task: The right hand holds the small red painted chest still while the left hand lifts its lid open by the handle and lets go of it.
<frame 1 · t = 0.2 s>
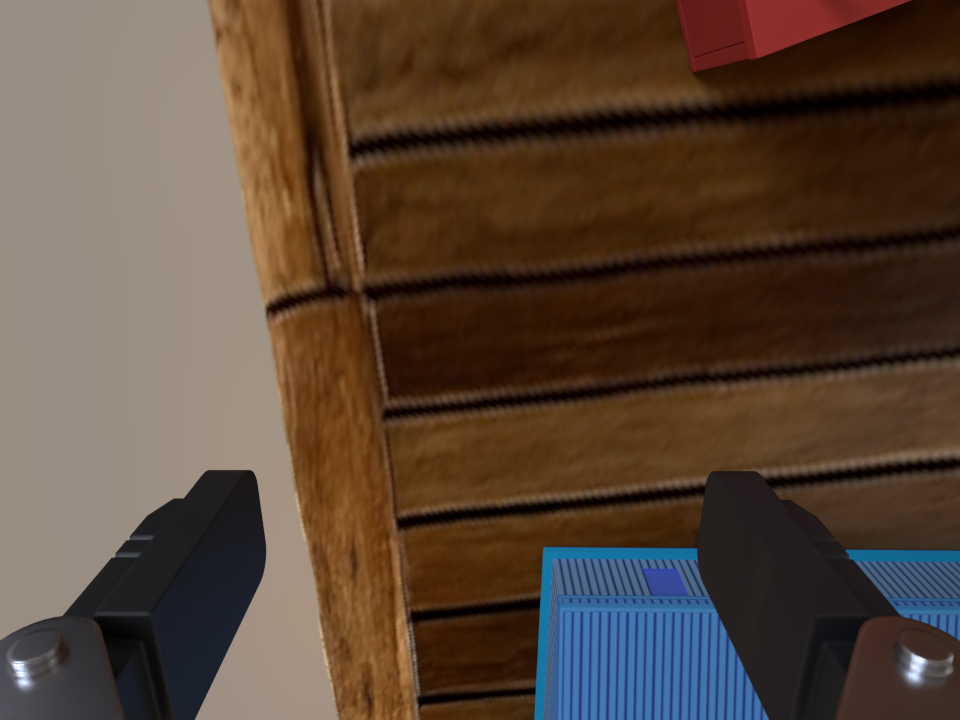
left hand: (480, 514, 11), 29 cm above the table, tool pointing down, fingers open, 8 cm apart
model building: (784, 672, 50), on the table
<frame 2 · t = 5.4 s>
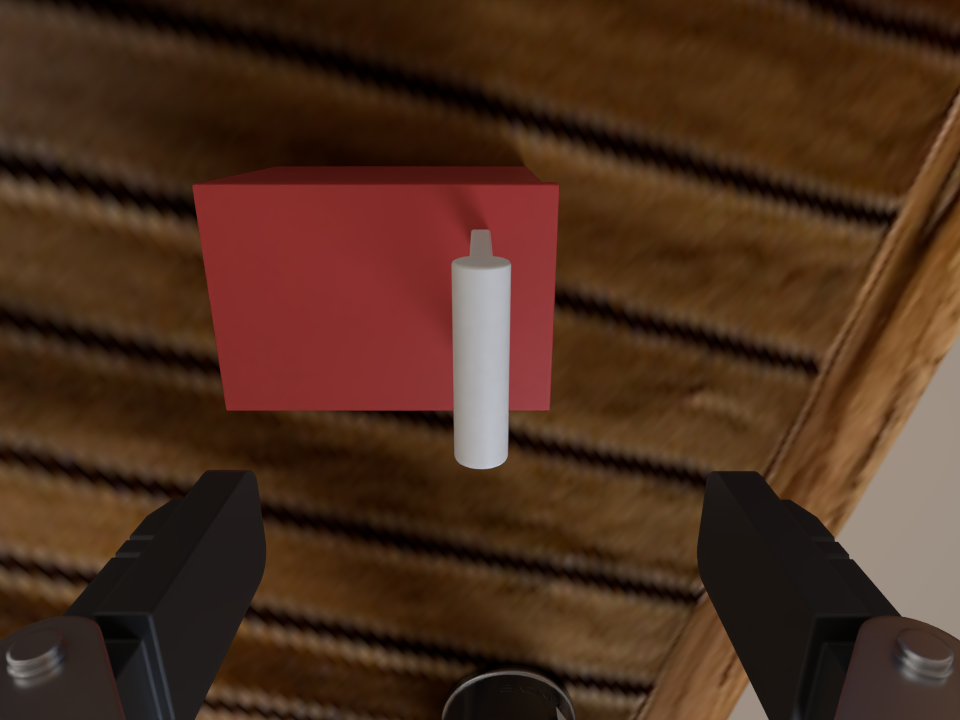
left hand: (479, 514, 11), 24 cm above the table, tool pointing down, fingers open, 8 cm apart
chest: (404, 253, 34), on the table
lid: (368, 330, 22), point 13 cm above the table, hinge at 0.0°
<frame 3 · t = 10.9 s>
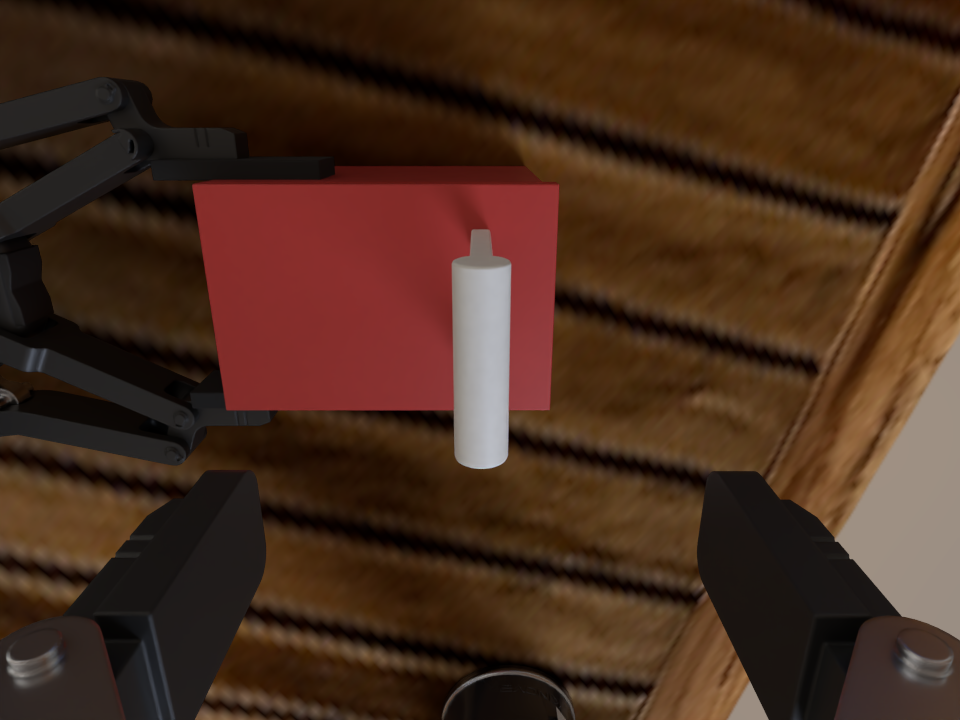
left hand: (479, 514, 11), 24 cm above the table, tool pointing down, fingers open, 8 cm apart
right hand: (336, 285, 28), fingers closed on chest, 9 cm apart
chest: (404, 253, 34), on the table, touching right hand
lid: (368, 329, 22), point 13 cm above the table, hinge at 0.0°
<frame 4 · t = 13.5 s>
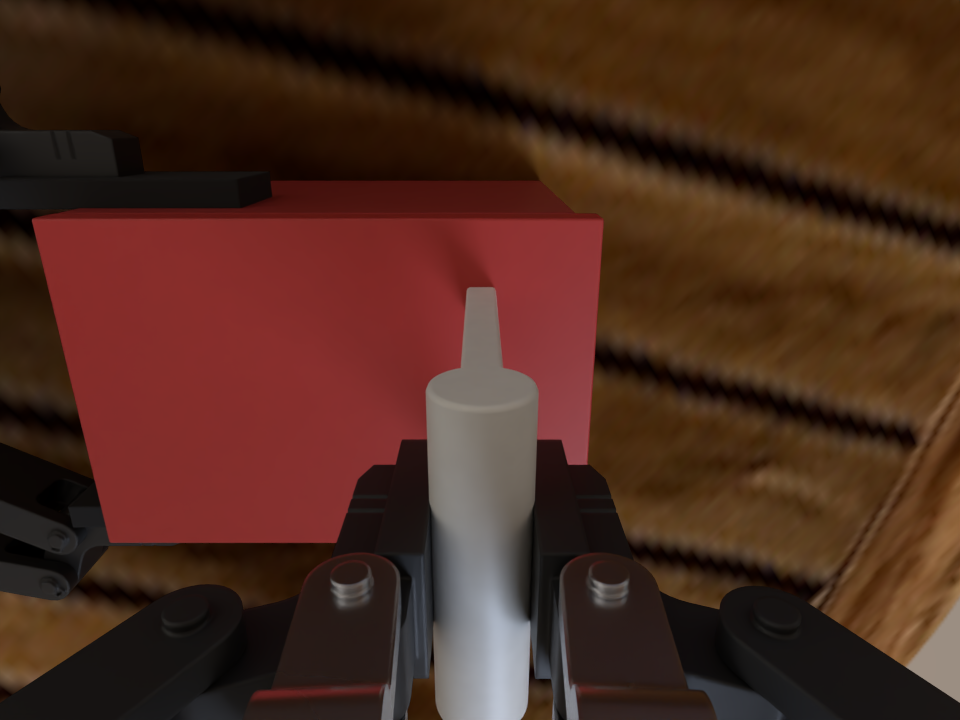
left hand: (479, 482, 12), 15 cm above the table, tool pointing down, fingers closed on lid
chest: (380, 295, 26), on the table, touching right hand
lid: (299, 458, 13), point 14 cm above the table, hinge at 0.2°, touching left hand
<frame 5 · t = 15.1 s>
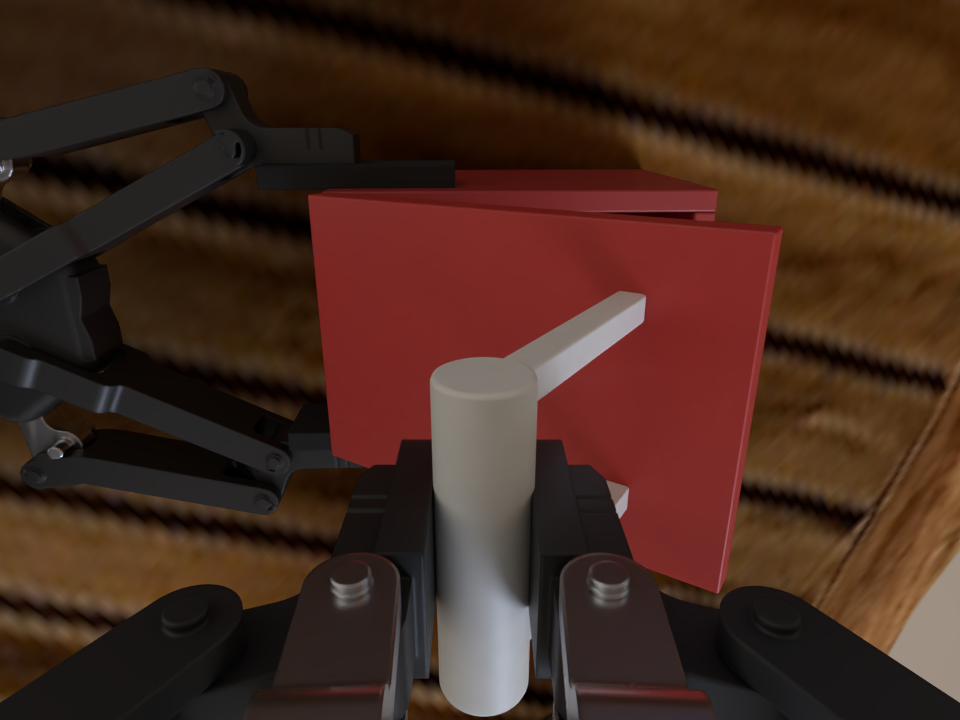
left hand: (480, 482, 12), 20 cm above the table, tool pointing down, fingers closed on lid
right hand: (456, 307, 24), fingers closed on chest, 9 cm apart
chest: (502, 267, 31), on the table, touching right hand
lid: (421, 417, 15), point 17 cm above the table, hinge at 34.2°, touching left hand
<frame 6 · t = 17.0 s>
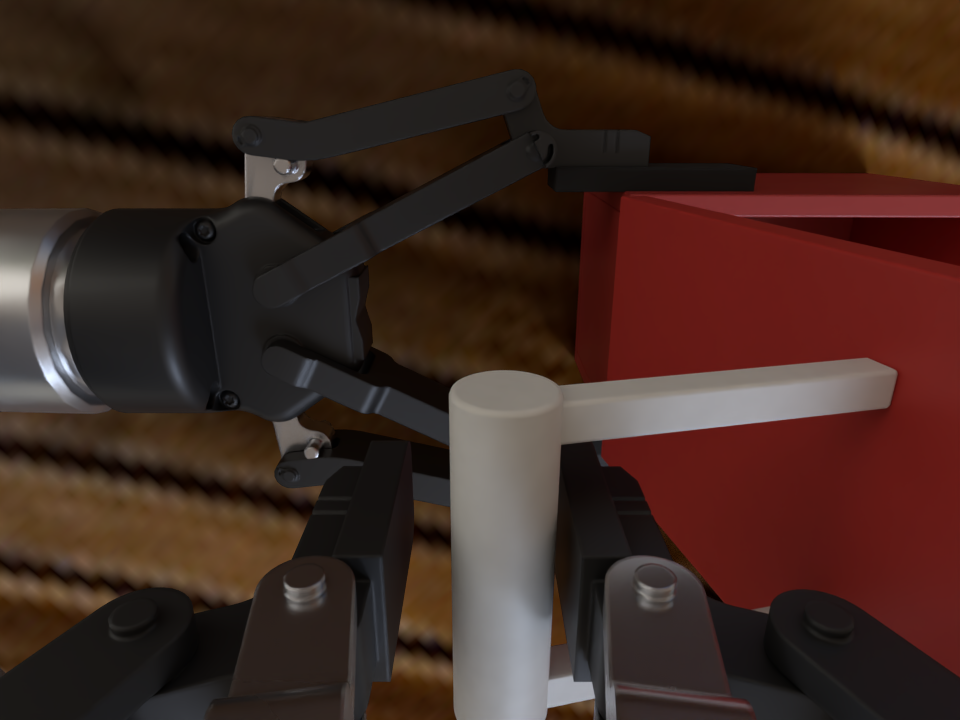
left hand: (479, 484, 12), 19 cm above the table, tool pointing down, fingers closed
right hand: (720, 312, 24), fingers closed on chest, 9 cm apart
chest: (713, 271, 30), on the table, touching right hand
lid: (599, 436, 14), point 17 cm above the table, hinge at 76.7°
when the right hand's fingers open (7 cm above the table, at t = 21.2 s): chest stays where it is, on the table.
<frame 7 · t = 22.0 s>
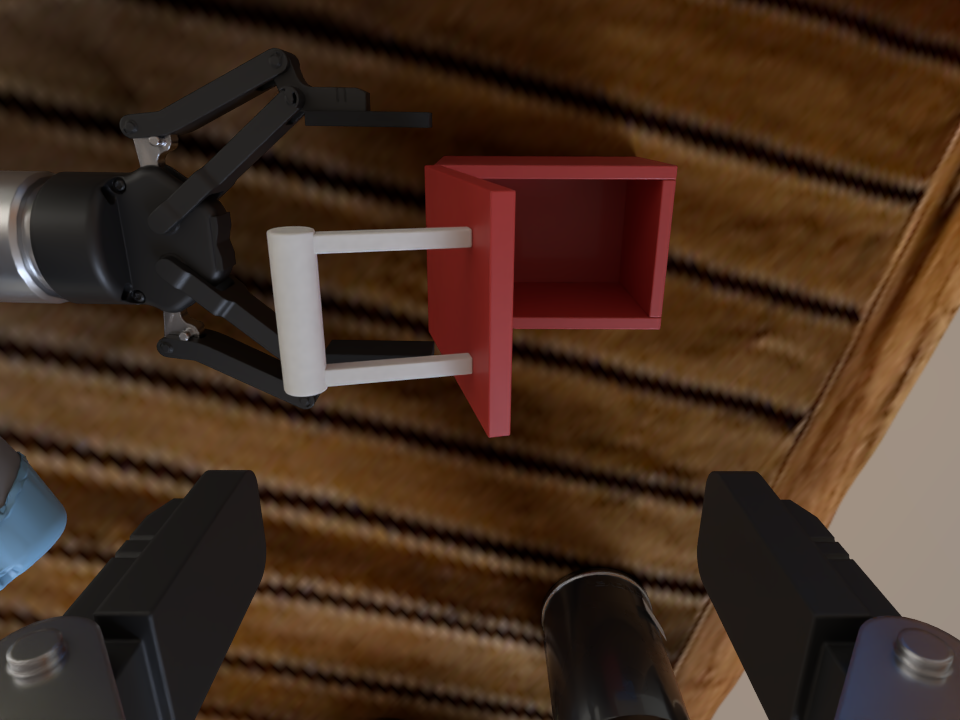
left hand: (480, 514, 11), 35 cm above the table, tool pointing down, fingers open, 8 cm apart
right hand: (432, 244, 37), fingers open, 13 cm apart
chest: (537, 225, 44), on the table
lid: (378, 284, 28), point 17 cm above the table, hinge at 76.0°
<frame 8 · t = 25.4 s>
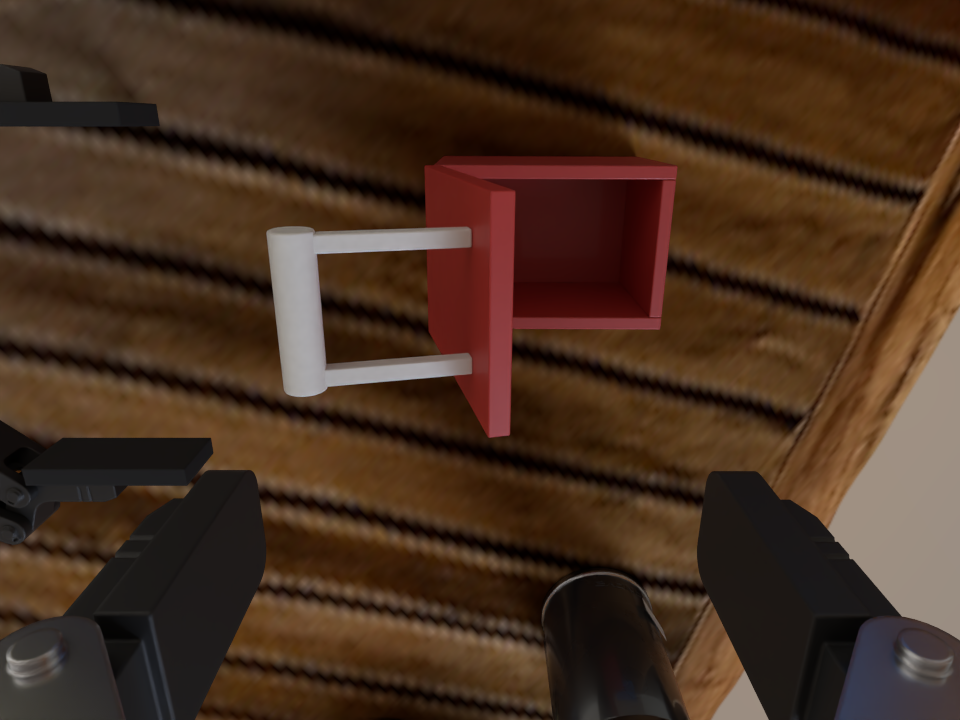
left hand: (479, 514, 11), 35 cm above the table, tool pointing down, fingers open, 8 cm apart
chest: (537, 225, 44), on the table
lid: (378, 284, 28), point 17 cm above the table, hinge at 76.0°
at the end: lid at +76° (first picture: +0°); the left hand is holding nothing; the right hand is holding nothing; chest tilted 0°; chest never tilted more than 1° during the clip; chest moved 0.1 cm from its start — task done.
